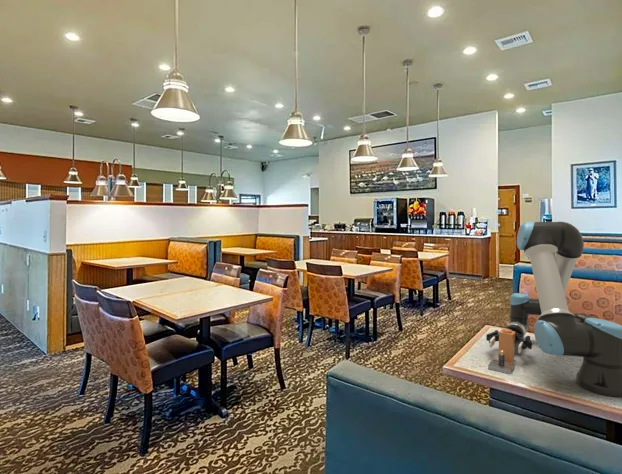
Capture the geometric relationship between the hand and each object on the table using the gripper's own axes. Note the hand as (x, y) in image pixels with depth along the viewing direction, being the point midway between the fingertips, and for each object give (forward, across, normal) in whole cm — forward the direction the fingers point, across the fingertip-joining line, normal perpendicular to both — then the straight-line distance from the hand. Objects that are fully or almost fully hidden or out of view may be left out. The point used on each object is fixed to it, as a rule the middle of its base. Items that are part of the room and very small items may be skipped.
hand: (504, 346), depth 152 cm
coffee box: (-34, -24, -7) cm, 43 cm away
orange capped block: (-4, 0, -7) cm, 8 cm away
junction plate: (+5, 0, -7) cm, 9 cm away
